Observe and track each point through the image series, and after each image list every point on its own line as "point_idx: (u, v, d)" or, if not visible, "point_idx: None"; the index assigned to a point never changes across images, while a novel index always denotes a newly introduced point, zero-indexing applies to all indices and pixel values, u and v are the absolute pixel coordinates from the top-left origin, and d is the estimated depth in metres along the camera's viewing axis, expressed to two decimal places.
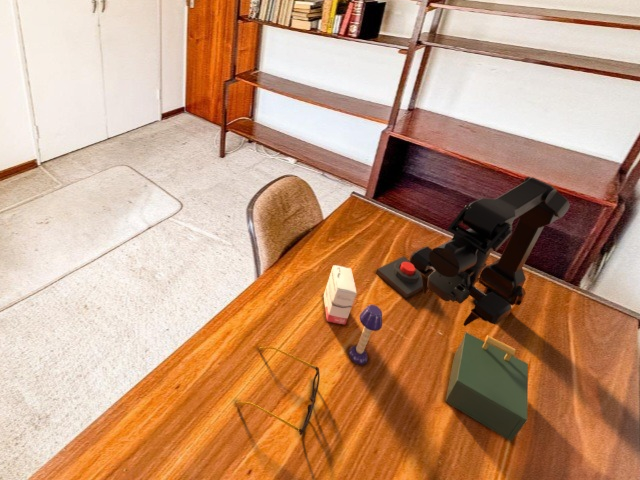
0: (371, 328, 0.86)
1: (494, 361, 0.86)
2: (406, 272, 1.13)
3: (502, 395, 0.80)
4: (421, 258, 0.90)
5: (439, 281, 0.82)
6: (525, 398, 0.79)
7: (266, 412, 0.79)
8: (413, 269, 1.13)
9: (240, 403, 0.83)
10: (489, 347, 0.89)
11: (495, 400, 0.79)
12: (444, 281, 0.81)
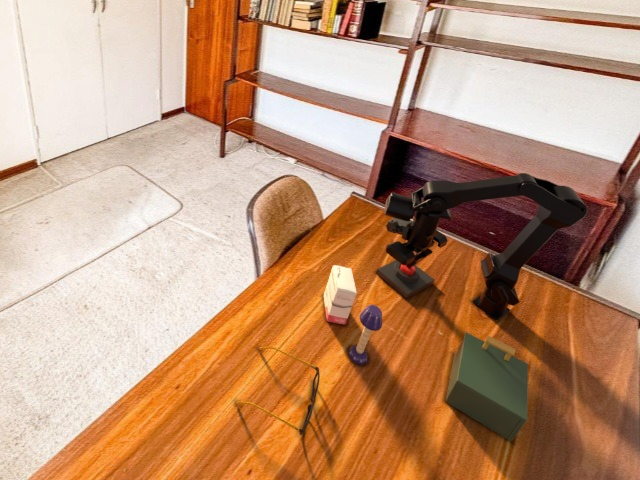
0: (371, 328, 0.86)
1: (494, 361, 0.86)
2: (406, 272, 1.13)
3: (502, 395, 0.80)
4: None
5: (397, 219, 1.15)
6: (525, 398, 0.79)
7: (266, 412, 0.79)
8: (413, 270, 1.13)
9: (240, 403, 0.83)
10: (489, 347, 0.89)
11: (495, 400, 0.79)
12: (398, 220, 1.14)
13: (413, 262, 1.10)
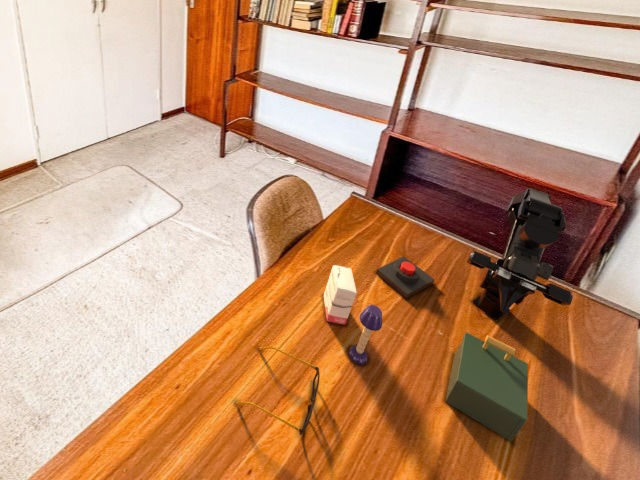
0: (371, 328, 0.86)
1: (494, 361, 0.86)
2: (406, 272, 1.13)
3: (502, 395, 0.80)
4: (482, 255, 0.95)
5: (525, 260, 0.87)
6: (525, 398, 0.79)
7: (266, 412, 0.79)
8: (413, 269, 1.13)
9: (240, 403, 0.83)
10: (489, 347, 0.89)
11: (495, 400, 0.79)
12: (528, 261, 0.87)
13: None
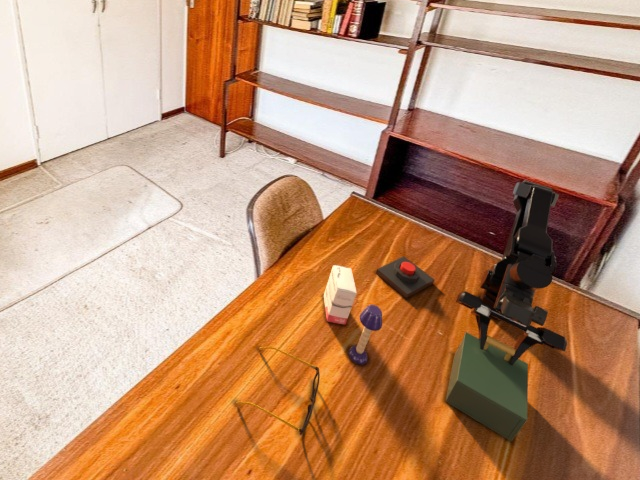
0: (371, 328, 0.86)
1: (494, 361, 0.86)
2: (406, 272, 1.13)
3: (502, 395, 0.80)
4: (473, 296, 0.90)
5: (518, 304, 0.83)
6: (525, 398, 0.79)
7: (266, 412, 0.79)
8: (413, 269, 1.13)
9: (240, 403, 0.83)
10: (489, 347, 0.89)
11: (495, 400, 0.79)
12: (521, 304, 0.83)
13: None
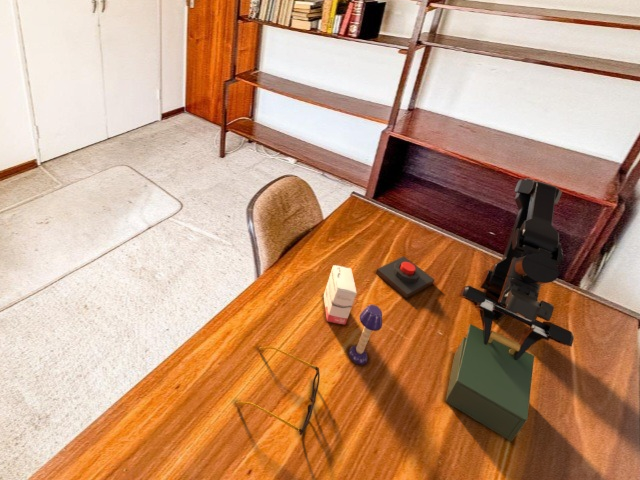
0: (371, 328, 0.86)
1: (498, 355, 0.85)
2: (406, 272, 1.13)
3: (503, 394, 0.79)
4: (477, 290, 0.88)
5: (523, 299, 0.81)
6: (527, 396, 0.78)
7: (266, 412, 0.79)
8: (413, 269, 1.13)
9: (240, 403, 0.83)
10: (494, 340, 0.87)
11: (495, 400, 0.78)
12: (526, 299, 0.81)
13: None
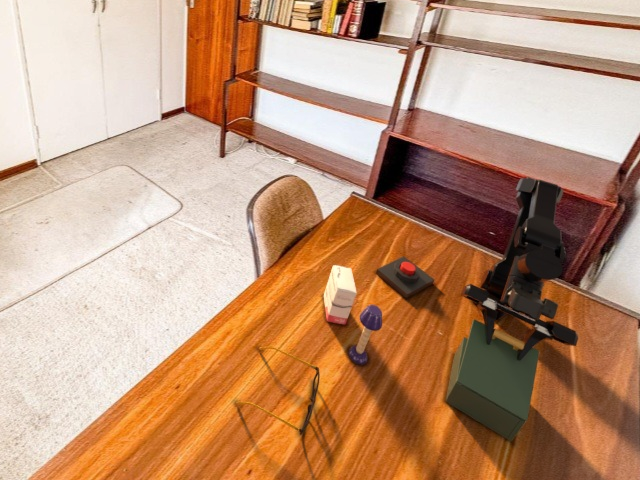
0: (371, 328, 0.86)
1: (501, 352, 0.83)
2: (406, 272, 1.13)
3: (504, 394, 0.79)
4: (479, 289, 0.86)
5: (527, 296, 0.79)
6: (529, 395, 0.78)
7: (266, 412, 0.79)
8: (413, 269, 1.13)
9: (240, 403, 0.83)
10: None
11: (495, 400, 0.78)
12: (530, 297, 0.79)
13: None
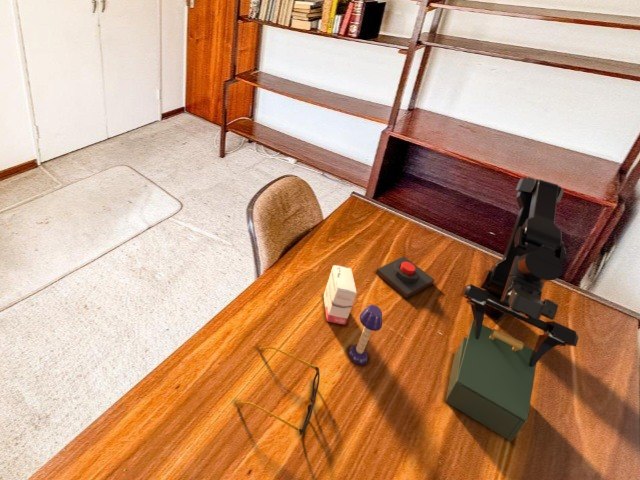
0: (371, 328, 0.86)
1: (500, 353, 0.84)
2: (406, 272, 1.13)
3: (504, 394, 0.79)
4: (479, 289, 0.86)
5: (527, 297, 0.79)
6: (529, 395, 0.78)
7: (266, 412, 0.79)
8: (413, 269, 1.13)
9: (240, 403, 0.83)
10: None
11: (495, 400, 0.78)
12: (530, 297, 0.79)
13: None
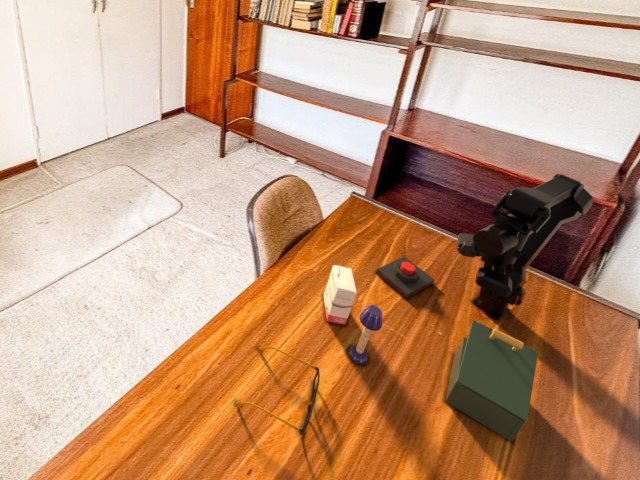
0: (371, 328, 0.86)
1: (500, 353, 0.84)
2: (406, 272, 1.13)
3: (504, 394, 0.79)
4: None
5: (464, 237, 0.96)
6: (529, 395, 0.78)
7: (266, 412, 0.79)
8: (413, 269, 1.13)
9: (240, 403, 0.83)
10: None
11: (495, 400, 0.78)
12: (467, 239, 0.95)
13: (493, 296, 0.91)
